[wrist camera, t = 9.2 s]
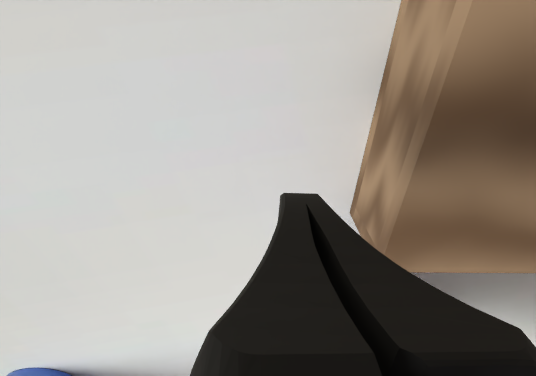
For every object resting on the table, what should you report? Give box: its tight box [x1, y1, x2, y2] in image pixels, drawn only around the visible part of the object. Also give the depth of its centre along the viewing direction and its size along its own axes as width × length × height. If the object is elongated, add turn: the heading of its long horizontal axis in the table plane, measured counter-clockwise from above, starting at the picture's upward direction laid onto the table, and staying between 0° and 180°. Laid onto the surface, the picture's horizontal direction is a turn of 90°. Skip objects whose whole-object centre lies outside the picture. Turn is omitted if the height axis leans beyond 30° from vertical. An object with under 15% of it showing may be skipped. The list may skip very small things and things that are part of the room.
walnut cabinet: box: [350, 0, 536, 273], centre depth 16 cm, size 18×10×6 cm, turn 177°
